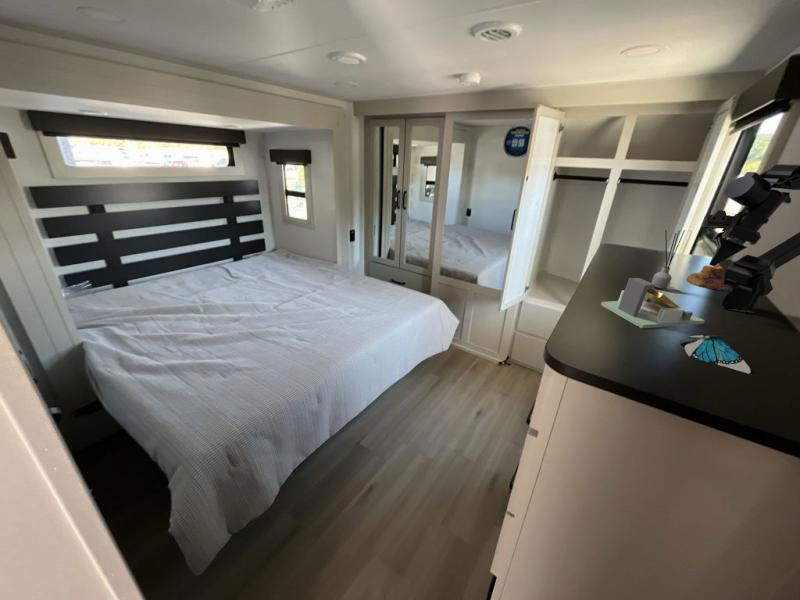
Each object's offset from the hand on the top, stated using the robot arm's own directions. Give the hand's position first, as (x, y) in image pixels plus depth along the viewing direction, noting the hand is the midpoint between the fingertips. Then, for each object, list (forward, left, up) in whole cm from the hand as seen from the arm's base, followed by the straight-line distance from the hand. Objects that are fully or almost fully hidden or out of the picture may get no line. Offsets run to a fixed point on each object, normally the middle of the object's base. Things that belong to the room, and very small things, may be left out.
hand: (711, 265), depth 88 cm
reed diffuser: (+6, -16, -14) cm, 22 cm away
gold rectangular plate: (+8, +8, -11) cm, 16 cm away
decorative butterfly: (+5, +30, -14) cm, 34 cm away
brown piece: (-12, -30, -14) cm, 35 cm away
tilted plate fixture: (+12, +11, -13) cm, 22 cm away
